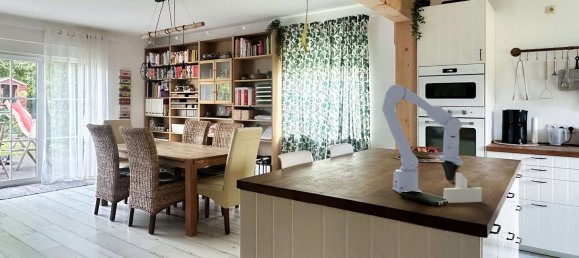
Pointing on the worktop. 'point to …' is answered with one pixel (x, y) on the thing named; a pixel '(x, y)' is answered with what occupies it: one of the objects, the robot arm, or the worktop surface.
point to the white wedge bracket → (460, 181)
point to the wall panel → (463, 195)
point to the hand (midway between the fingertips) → (449, 180)
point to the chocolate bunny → (455, 175)
